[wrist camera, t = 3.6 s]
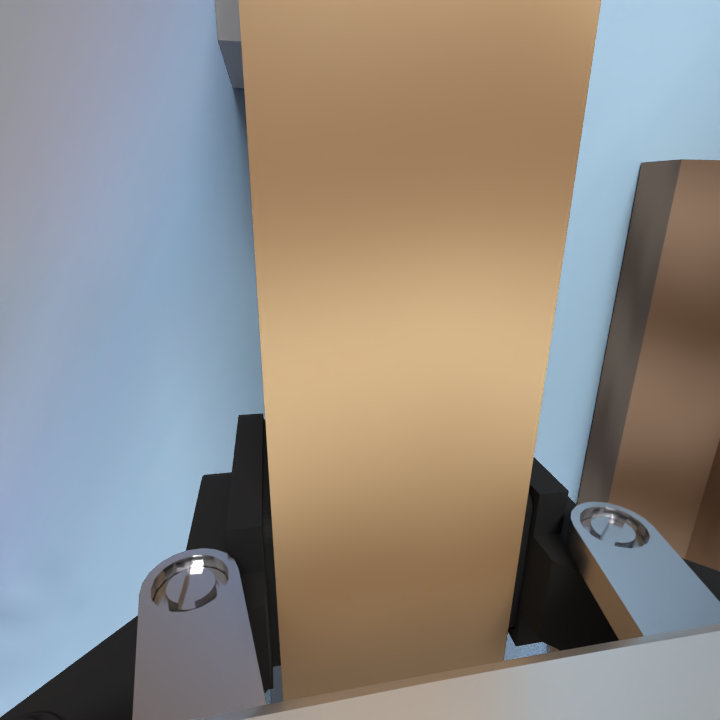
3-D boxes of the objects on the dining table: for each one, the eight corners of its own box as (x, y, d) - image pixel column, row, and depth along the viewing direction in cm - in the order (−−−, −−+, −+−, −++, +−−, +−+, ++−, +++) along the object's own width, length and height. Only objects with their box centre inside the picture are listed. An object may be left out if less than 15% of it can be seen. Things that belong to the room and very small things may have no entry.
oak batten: (225, -328, 7) (176, -968, 3) (488, -276, 7) (710, -741, 4) (294, 816, 15) (303, 1015, 12) (413, 790, 16) (458, 970, 12)
